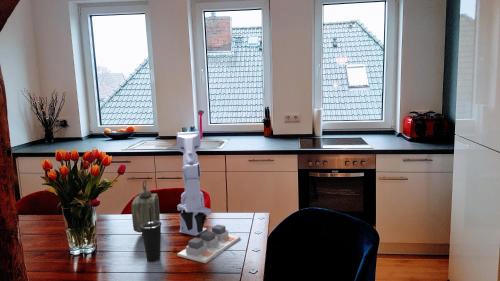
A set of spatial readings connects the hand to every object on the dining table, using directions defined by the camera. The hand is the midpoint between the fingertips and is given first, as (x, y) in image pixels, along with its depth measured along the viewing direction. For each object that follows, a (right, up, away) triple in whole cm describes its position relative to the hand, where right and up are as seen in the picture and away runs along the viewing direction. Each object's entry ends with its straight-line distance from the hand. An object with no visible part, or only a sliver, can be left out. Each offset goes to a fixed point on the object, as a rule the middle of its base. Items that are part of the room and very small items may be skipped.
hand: (195, 230), depth 147 cm
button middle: (+4, -6, +7) cm, 10 cm away
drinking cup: (-15, -11, -1) cm, 19 cm away
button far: (+8, -5, +14) cm, 17 cm away
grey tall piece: (-23, -7, +21) cm, 32 cm away
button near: (0, -7, +1) cm, 7 cm away
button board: (+5, -8, +7) cm, 12 cm away
